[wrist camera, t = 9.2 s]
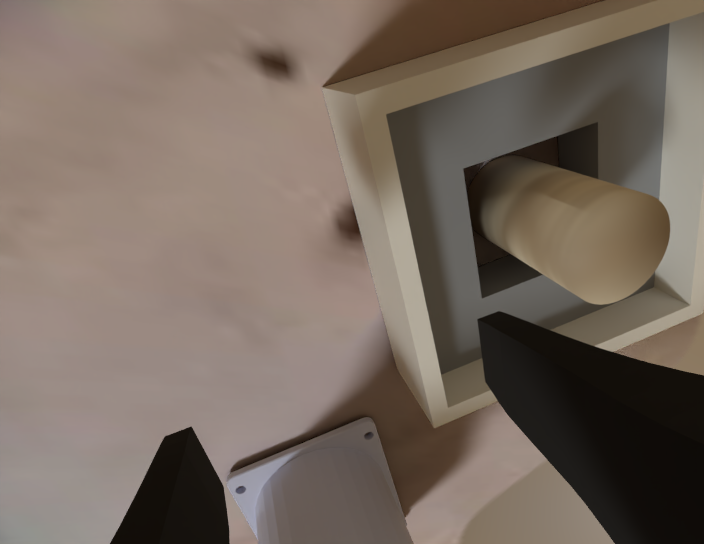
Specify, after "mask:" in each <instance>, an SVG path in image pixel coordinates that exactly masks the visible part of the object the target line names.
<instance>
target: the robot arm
mask: <svg viewBox="0 0 704 544" xmlns="http://www.w3.org/2000/svg"><path fill="white" fill-rule="evenodd" d="M477 321H478V329H479V337H480V345H481V353H482V361H483V368H484V376H485V382H486V384H487V385H488V387H489V388H490V390H491V391H492V393H493V394H494V396H495V397H496V399H497V400H498V402H499V403H500V404H501V406H502V407H503V409H504V410H505V412H506V413H507V414H508V416H509V417H510V418H511V419H512V420H513V421H514V423H515V424H516V425H517V426H518V427H519V428H520V429H521V430H522V432H523V433H524V434H525V435H526V436H527V437H528V438H529V440H530V441H531V442H532V443H533V444H534V445H535V446H536V447H537V449H538V450H539V451H540V452H541V453H542V454H543V455H544V456H545V457H546V459H547V460H548V461H549V462H550V463H551V464H552V465H553V466H554V467H555V469H556V470H557V471H558V472H559V473H560V474H561V475H562V476H563V478H564V479H565V480H566V481H567V482H568V483H569V484H570V485H571V486H572V488H573V489H574V490H575V491H576V493H577V494H578V495H579V496H580V497H581V499H582V500H583V501H584V502H585V504H586V505H587V506H588V508H589V509H590V510H591V512H592V513H593V514H594V516H595V517H596V518H597V520H598V521H599V522H600V524H601V525H602V526H603V528H604V529H605V531H606V532H607V533H608V535H609V536H610V537H611V539H612V540H613V541H614V543H615V544H704V376H703V375H698V374H694V373H689V372H684V371H680V370H676V369H672V368H668V367H664V366H660V365H656V364H652V363H648V362H644V361H641V360H637V359H633V358H630V357H627V356H624V355H620V354H617V353H614V352H611V351H608V350H604V349H601V348H598V347H595V346H592V345H589V344H586V343H584V342H581V341H578V340H575V339H572V338H570V337H567V336H564V335H562V334H559V333H556V332H554V331H551V330H548V329H546V328H543V327H541V326H538V325H536V324H533V323H530V322H528V321H525V320H523V319H520V318H517V317H515V316H512V315H509V314H507V313H504V312H501V311H498V312H495V313H492V314H490V315H487V316H484V317H482V318H479V319H477ZM368 432H370V433H369V434H367V435H365V434H366V433H368ZM239 486H243V487H241V488H238V487H239ZM227 487H228V489H229V490H230V492H231V494H232V496H233V497H234V499H235V501H236V503H237V504H238V506H239V508H240V509H241V511H242V513H243V515H244V516H245V518H246V520H247V522H248V523H249V525H250V527H251V529H252V530H253V532H254V534H255V536H256V537H257V539H258V544H414V543H413V541H412V539H411V536H410V534H409V532H408V529H407V527H406V526H407V523H406V520H405V517H404V514H403V511H402V508H401V504H400V501H399V498H398V495H397V492H396V489H395V486H394V482H393V479H392V476H391V473H390V470H389V467H388V464H387V460H386V457H385V454H384V451H383V448H382V445H381V442H380V438H379V435H378V432H377V429H376V426H375V423H374V421H373V420H372V419H371V418H369V417H365V418H361V419H359V420H357V421H354V422H352V423H349V424H347V425H345V426H342V427H340V428H337V429H335V430H332V431H330V432H328V433H325V434H323V435H320V436H318V437H316V438H313V439H311V440H308V441H306V442H304V443H301V444H299V445H296V446H294V447H292V448H289V449H287V450H284V451H282V452H280V453H277V454H275V455H272V456H270V457H267V458H265V459H263V460H260V461H258V462H255V463H253V464H251V465H248V466H246V467H243V468H241V469H239V470H236V471H234V472H232V473H230V474H229V475H228V476H227ZM110 544H229V525H228V517H227V509H226V502H225V494H224V487H223V485H222V483H221V481H220V479H219V477H218V475H217V473H216V472H215V470H214V468H213V466H212V464H211V462H210V460H209V458H208V457H207V455H206V453H205V451H204V449H203V447H202V445H201V443H200V442H199V440H198V438H197V436H196V434H195V432H194V430H193V428H192V427H189V428H186V429H184V430H181V431H178V432H176V433H173V434H170V435H168V436H165V437H164V439H163V441H162V443H161V445H160V447H159V449H158V451H157V453H156V455H155V457H154V459H153V461H152V463H151V465H150V467H149V469H148V471H147V473H146V475H145V477H144V479H143V482H142V484H141V486H140V488H139V490H138V492H137V494H136V496H135V498H134V500H133V501H132V503H131V505H130V507H129V509H128V511H127V513H126V515H125V517H124V519H123V521H122V523H121V525H120V527H119V528H118V530H117V532H116V534H115V536H114V538H113V539H112V541H111V543H110Z"/></svg>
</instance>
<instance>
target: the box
mask: <svg viewBox="0 0 704 544" xmlns="http://www.w3.org/2000/svg"><path fill="white" fill-rule="evenodd" d="M322 90H323V94H324V98H325V102H326V105H327V109H328V113H329V117H330V120H331V124H332V128H333V132H334V135H335V139H336V143H337V147H338V150H339V154H340V158H341V162H342V165H343V169H344V173H345V177H346V180H347V184H348V188H349V192H350V195H351V199H352V203H353V206H354V210H355V214H356V218H357V221H358V225H359V229H360V233H361V236H362V240H363V244H364V248H365V251H366V255H367V259H368V263H369V266H370V270H371V274H372V278H373V281H374V285H375V289H376V293H377V296H378V300H379V304H380V308H381V311H382V315H383V319H384V322H385V326H386V330H387V334H388V337H389V341H390V345H391V349H392V352H393V356H394V360H395V364H396V367H397V370H398V371H399V373H400V374H401V376H402V378H403V379H404V381H405V383H406V384H407V386H408V387H409V389H410V391H411V392H412V394H413V395H414V397H415V399H416V400H417V402H418V403H419V405H420V407H421V408H422V410H423V411H424V413H425V415H426V416H427V418H428V419H429V421H430V423H431V424H432V426H433V427H434V428H437V427H439V426H441V425H444V424H446V423H448V422H451V421H453V420H455V419H458V418H460V417H462V416H465V415H467V414H469V413H472V412H474V411H476V410H479V409H481V408H483V407H486V406H488V405H490V404H493V403H495V402H497V401H498V400H497V399H496V397H495V396H494V394H493V393H492V391H491V390H490V388H489V387H488V385H487V384H486V382H485V376H484V368H483V361H482V353H481V345H480V337H479V329H478V321H477V319H479V318H482V317H484V316H487V315H490V314H492V313H495V312H498V311H501V312H504V313H507V314H509V315H512V316H515V317H517V318H520V319H523V320H525V321H528V322H530V323H533V324H536V325H538V326H541V327H543V328H546V329H548V330H551V331H554V332H556V333H559V334H562V335H564V336H567V337H570V338H572V339H575V340H578V341H581V342H584V343H586V344H589V345H592V346H595V347H598V348H601V349H604V350H608V351H611V352H614V351H616V350H619V349H621V348H623V347H626V346H628V345H630V344H633V343H635V342H637V341H640V340H642V339H644V338H647V337H649V336H651V335H654V334H656V333H658V332H661V331H663V330H665V329H668V328H670V327H672V326H675V325H677V324H679V323H682V322H684V321H687V320H689V319H691V318H694V317H696V316H698V315H701V314H703V310H704V0H604V1H601V2H598V3H594V4H591V5H588V6H585V7H581V8H578V9H575V10H572V11H568V12H565V13H562V14H559V15H555V16H552V17H549V18H546V19H542V20H539V21H536V22H533V23H529V24H526V25H523V26H520V27H516V28H513V29H510V30H507V31H503V32H500V33H497V34H494V35H490V36H487V37H484V38H481V39H477V40H474V41H471V42H468V43H464V44H461V45H458V46H455V47H451V48H448V49H445V50H442V51H438V52H435V53H432V54H429V55H425V56H422V57H419V58H416V59H412V60H409V61H406V62H403V63H399V64H396V65H393V66H390V67H386V68H383V69H380V70H377V71H373V72H370V73H367V74H364V75H360V76H357V77H354V78H351V79H347V80H344V81H341V82H338V83H334V84H331V85H328V86H325V87H322ZM556 136H558V150H559V168H562V169H566V170H569V171H572V172H576V173H579V174H582V175H586V176H589V177H592V178H596V179H599V180H602V181H606V182H609V183H612V184H616V185H619V186H622V187H626V188H629V189H632V190H636V191H639V192H642V193H646V194H649V195H651V196H654V197H655V198H657V199H658V200H659V201H661V202H662V204H663V205H664V206H665V208H666V210H667V212H668V215H669V219H670V238H669V242H668V246H667V249H666V252H665V254H664V257H663V259H662V261H661V262H660V264H659V266H658V268H657V269H656V270H655V272H654V273H653V275H652V276H651V277H650V278H649V279H648V280H647V281H646V283H645V284H644V285H642V286H641V287H640V288H639V289H638V290H637V291H635V292H634V293H633V294H631V295H629V296H628V297H626V298H624V299H622V300H620V301H617V302H614V303H610V304H603V305H599V304H592V303H589V302H586V301H584V300H583V299H581V298H580V297H578V296H576V295H575V294H573V293H572V292H570V291H568V290H567V289H565V288H564V287H562V286H561V285H559V284H557V283H556V282H554V281H553V280H551V279H549V278H548V277H546V276H545V275H543V274H542V273H540V272H538V271H537V270H535V269H534V268H532V267H530V266H529V265H527V264H526V263H524V262H523V261H521V260H519V259H518V258H516V257H515V256H513V255H509V256H506V257H504V258H501V259H498V260H496V261H493V262H490V263H488V264H485V265H483V266H480V267H477V261H476V254H475V247H474V240H473V233H472V226H471V219H470V213H469V206H468V199H467V192H466V185H465V178H464V171H463V169H464V168H467V167H469V166H472V165H475V164H478V163H481V162H484V161H487V160H490V159H492V158H495V157H498V156H501V155H504V154H507V153H510V152H513V151H515V150H518V149H521V148H524V147H527V146H530V145H533V144H536V143H538V142H541V141H544V140H547V139H550V138H553V137H556Z"/></svg>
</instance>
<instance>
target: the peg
mask: <svg viewBox="0 0 704 544" xmlns="http://www.w3.org/2000/svg"><path fill="white" fill-rule="evenodd" d="M467 199H468V206H469V213H470V219H471V226H472V228H473V229H474V230H475V231H476V232H477V233H478V234H480V235H481V236H483V237H484V238H486V239H488V240H489V241H491V242H492V243H494V244H496V245H497V246H499V247H500V248H502V249H504V250H505V251H507V252H508V253H510V254H511V255H513V256H515V257H516V258H518V259H519V260H521V261H523V262H524V263H526V264H527V265H529V266H530V267H532V268H534V269H535V270H537V271H538V272H540V273H542V274H543V275H545V276H546V277H548V278H549V279H551V280H553V281H554V282H556V283H557V284H559V285H561V286H562V287H564V288H565V289H567V290H568V291H570V292H572V293H573V294H575V295H576V296H578V297H580V298H581V299H583V300H584V301H586V302H589V303H592V304H599V305H603V304H610V303H614V302H617V301H620V300H622V299H624V298H626V297H628V296H629V295H631V294H633V293H634V292H635V291H637V290H638V289H639V288H640V287H641V286H642V285H644V284H645V283H646V281H647V280H648V279H649V278H650V277H651V276H652V275H653V273H654V272H655V270H656V269H657V268H658V266H659V264H660V262H661V261H662V259H663V257H664V254H665V252H666V249H667V246H668V242H669V238H670V219H669V215H668V212H667V210H666V208H665V206H664V205H663V204H662V202H661V201H659V200H658V199H657V198H655V197H654V196H651V195H649V194H646V193H642V192H639V191H636V190H632V189H629V188H626V187H622V186H619V185H616V184H612V183H609V182H606V181H602V180H599V179H596V178H592V177H589V176H586V175H582V174H579V173H576V172H572V171H569V170H566V169H562V168H559V167H556V166H552V165H549V164H546V163H542V162H539V161H536V160H532V159H529V158H526V157H522V156H518V155H505V156H501V157H498V158H496V159H494V160H492V161H491V162H489V163H488V164H486V165H485V166H484V167H483V168H482V169H481V170H480V171H479V172H478V173H477V175H476V176H475V177H474V179H473V181H472V183H471V184H470V187H469V189H468V193H467Z"/></svg>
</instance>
